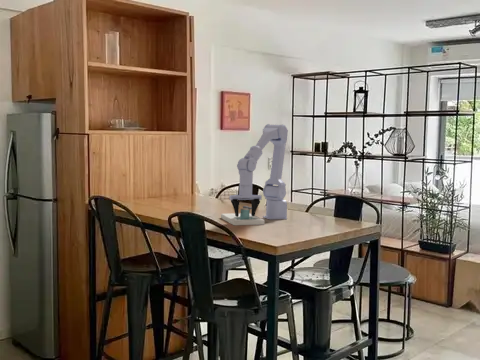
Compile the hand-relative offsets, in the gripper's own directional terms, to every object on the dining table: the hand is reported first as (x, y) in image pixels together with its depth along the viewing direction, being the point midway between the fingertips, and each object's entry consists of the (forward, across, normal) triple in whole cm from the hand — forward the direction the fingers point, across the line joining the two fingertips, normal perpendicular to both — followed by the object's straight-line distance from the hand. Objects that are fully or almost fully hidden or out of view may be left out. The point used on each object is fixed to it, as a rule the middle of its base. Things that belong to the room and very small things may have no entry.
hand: (244, 216), depth 240 cm
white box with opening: (+3, 0, -4) cm, 5 cm away
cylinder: (+3, 0, 0) cm, 3 cm away
